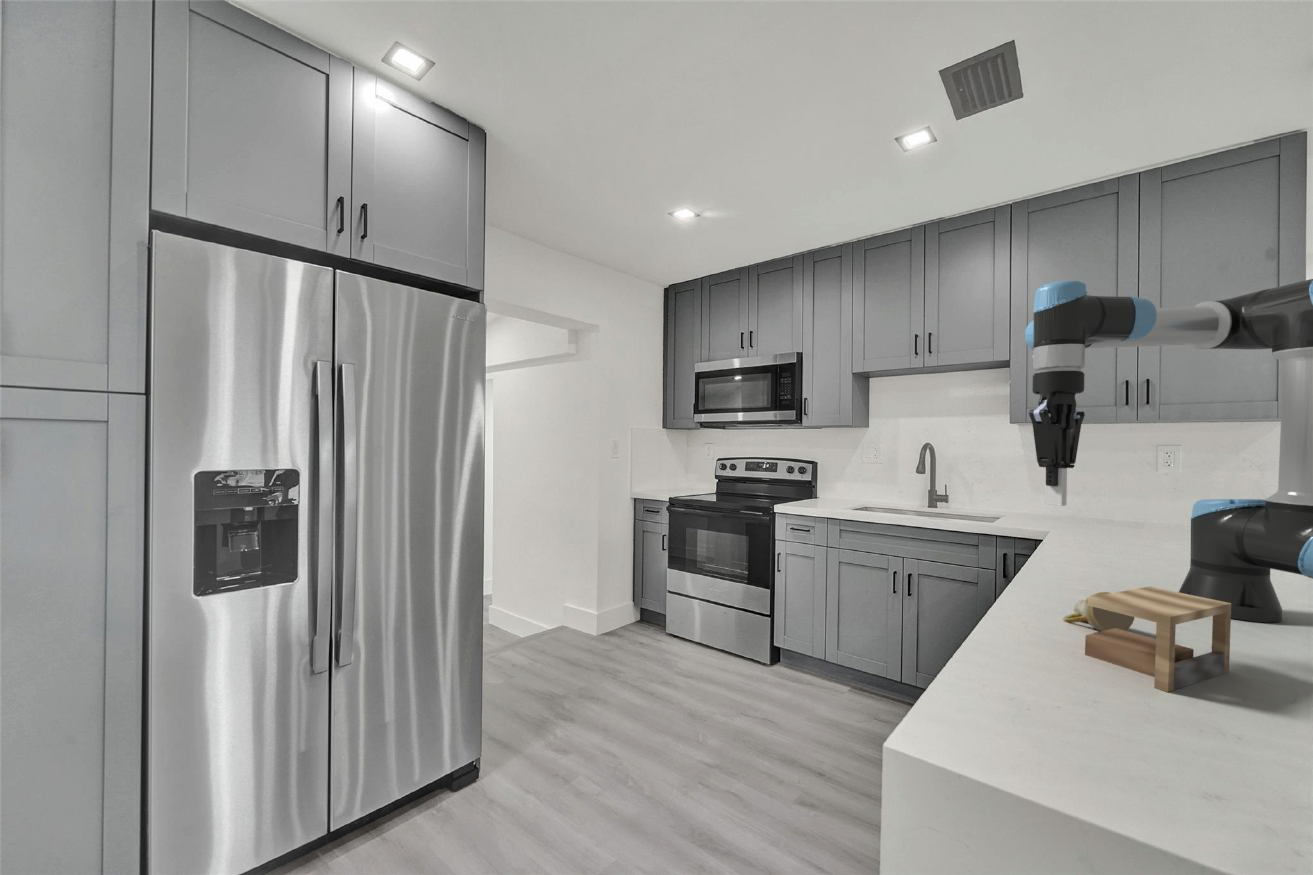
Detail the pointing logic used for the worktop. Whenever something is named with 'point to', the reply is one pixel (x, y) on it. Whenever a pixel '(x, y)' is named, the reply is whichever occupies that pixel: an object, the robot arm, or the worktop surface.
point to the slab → (1129, 650)
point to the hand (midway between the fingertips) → (1055, 504)
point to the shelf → (1166, 614)
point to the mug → (1099, 616)
